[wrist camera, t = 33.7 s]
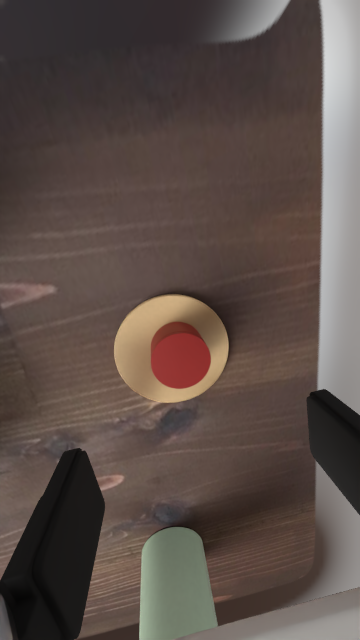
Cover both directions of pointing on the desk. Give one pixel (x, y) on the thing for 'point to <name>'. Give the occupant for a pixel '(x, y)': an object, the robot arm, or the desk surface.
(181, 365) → the cap
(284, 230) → the desk surface
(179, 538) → the bottle
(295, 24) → the desk surface
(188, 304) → the coaster
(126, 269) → the desk surface
